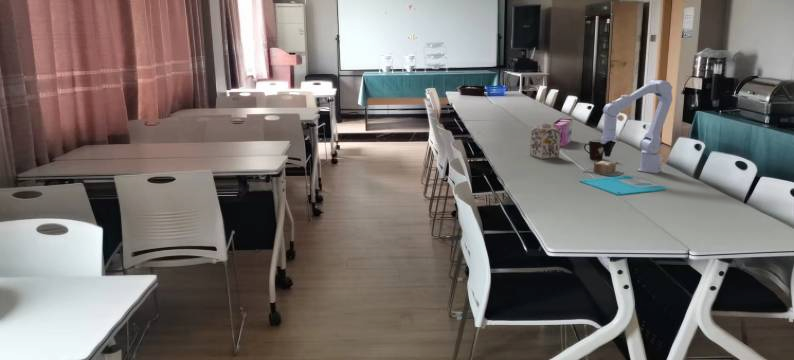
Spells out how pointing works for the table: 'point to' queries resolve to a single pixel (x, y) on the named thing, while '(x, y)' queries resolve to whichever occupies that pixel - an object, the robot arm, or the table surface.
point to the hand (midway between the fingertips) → (607, 156)
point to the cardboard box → (604, 167)
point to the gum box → (564, 130)
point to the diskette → (623, 185)
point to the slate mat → (614, 173)
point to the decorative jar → (545, 142)
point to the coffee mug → (595, 149)
